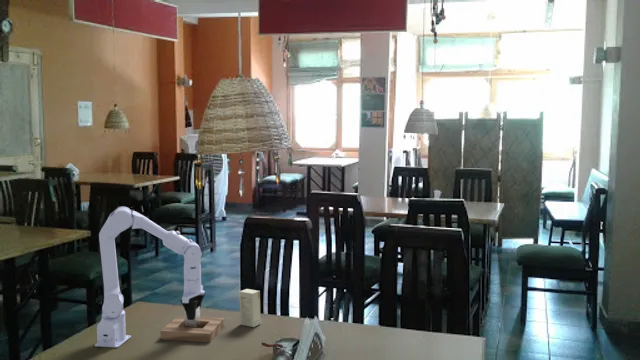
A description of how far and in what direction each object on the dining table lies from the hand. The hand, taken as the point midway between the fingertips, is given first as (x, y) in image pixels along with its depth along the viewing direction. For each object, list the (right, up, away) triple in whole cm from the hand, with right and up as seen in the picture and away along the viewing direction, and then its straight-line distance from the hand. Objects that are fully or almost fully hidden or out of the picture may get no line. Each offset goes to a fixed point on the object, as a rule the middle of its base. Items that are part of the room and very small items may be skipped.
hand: (193, 317), depth 193 cm
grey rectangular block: (0, -3, 0) cm, 3 cm away
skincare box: (+18, -5, +9) cm, 21 cm away
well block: (0, -5, +1) cm, 5 cm away
